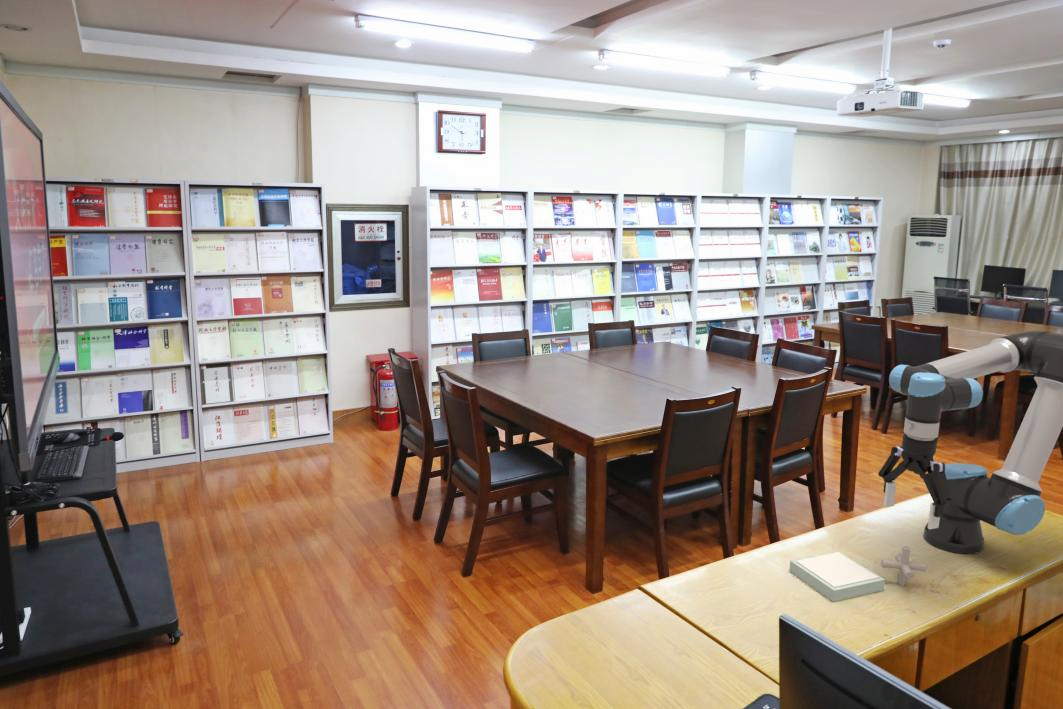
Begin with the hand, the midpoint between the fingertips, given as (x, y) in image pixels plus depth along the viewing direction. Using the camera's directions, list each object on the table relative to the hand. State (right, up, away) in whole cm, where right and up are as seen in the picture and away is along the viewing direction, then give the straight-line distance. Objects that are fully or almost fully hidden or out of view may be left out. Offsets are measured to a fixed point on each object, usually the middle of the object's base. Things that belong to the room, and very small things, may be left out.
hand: (910, 516), depth 187 cm
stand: (-17, -18, +5) cm, 25 cm away
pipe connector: (0, -18, +4) cm, 19 cm away
